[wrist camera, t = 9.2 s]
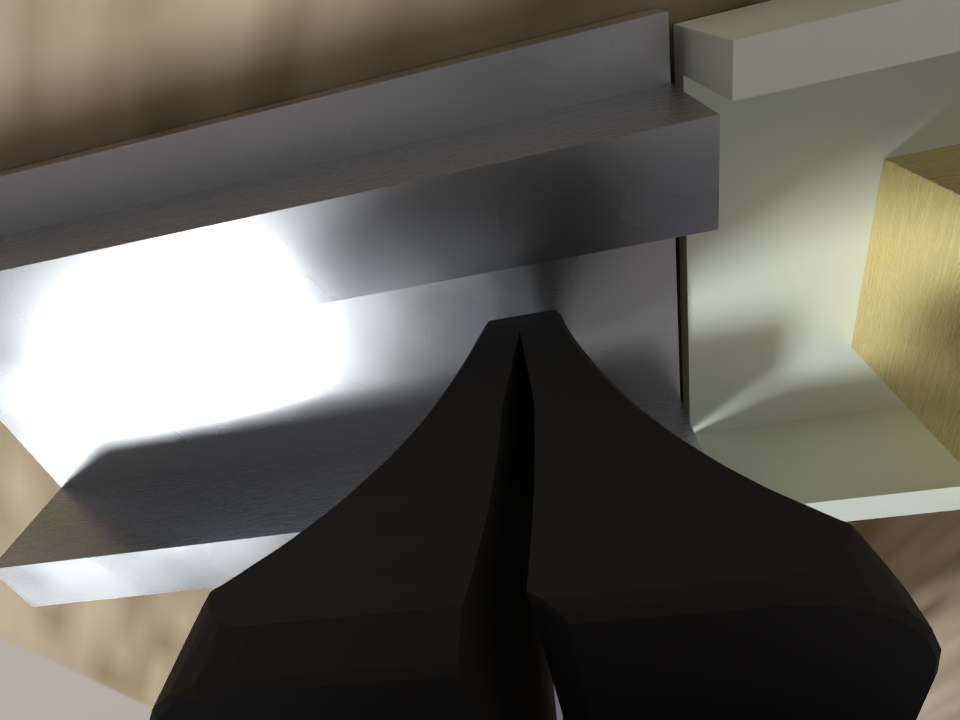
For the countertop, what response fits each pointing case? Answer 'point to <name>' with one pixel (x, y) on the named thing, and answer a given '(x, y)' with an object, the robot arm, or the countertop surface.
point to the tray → (809, 244)
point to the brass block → (916, 289)
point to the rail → (328, 291)
